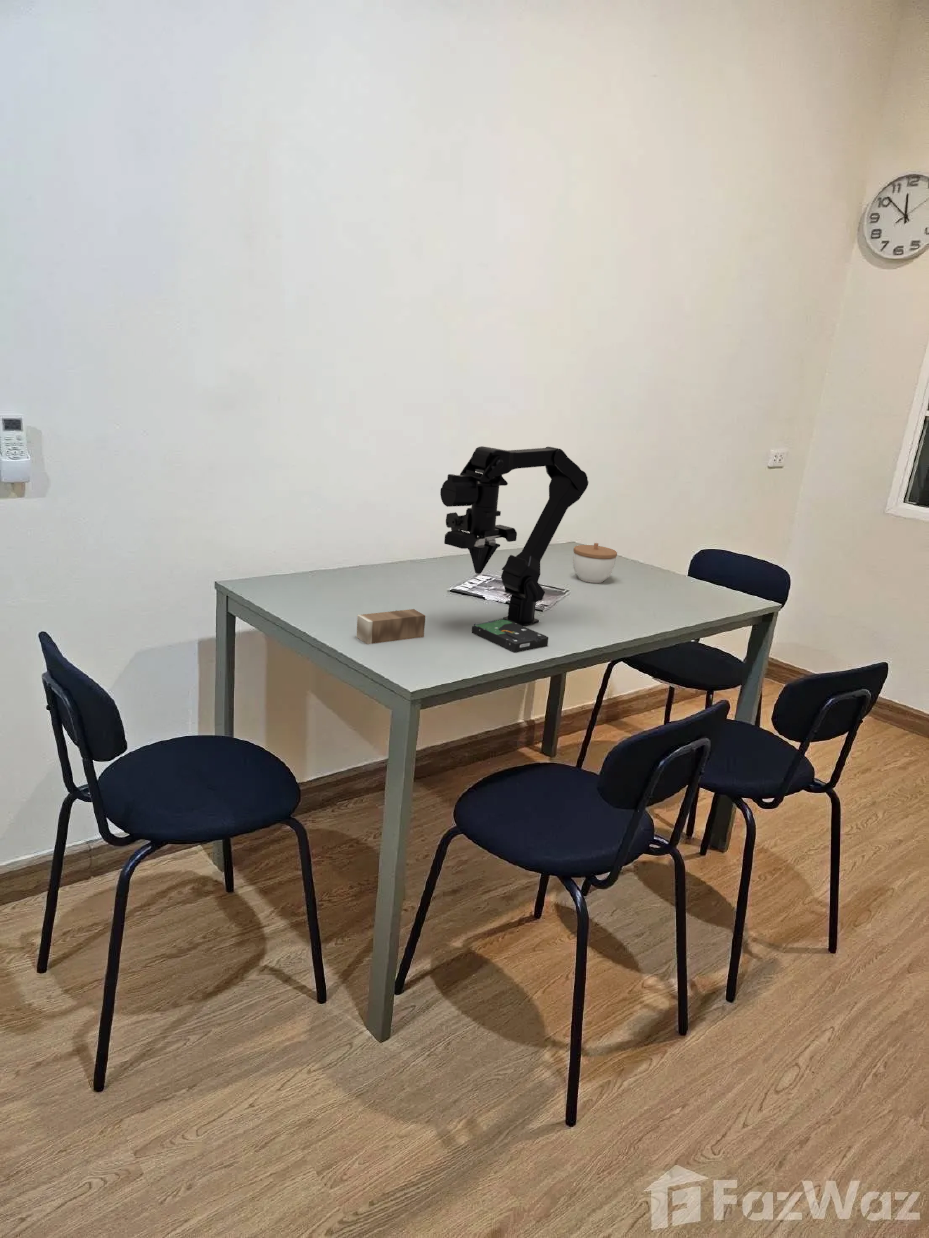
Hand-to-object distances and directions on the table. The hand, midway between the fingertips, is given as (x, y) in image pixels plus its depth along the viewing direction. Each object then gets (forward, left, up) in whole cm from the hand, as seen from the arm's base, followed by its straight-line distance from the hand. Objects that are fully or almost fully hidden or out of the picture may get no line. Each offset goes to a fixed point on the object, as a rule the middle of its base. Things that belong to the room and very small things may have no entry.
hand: (478, 573), depth 193 cm
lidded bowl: (-65, -11, -13) cm, 67 cm away
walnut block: (+14, -4, -11) cm, 18 cm away
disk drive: (-1, +10, -14) cm, 17 cm away
